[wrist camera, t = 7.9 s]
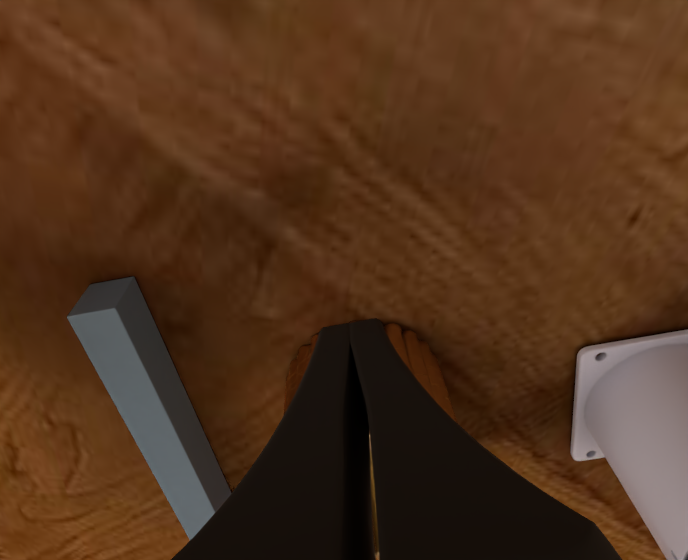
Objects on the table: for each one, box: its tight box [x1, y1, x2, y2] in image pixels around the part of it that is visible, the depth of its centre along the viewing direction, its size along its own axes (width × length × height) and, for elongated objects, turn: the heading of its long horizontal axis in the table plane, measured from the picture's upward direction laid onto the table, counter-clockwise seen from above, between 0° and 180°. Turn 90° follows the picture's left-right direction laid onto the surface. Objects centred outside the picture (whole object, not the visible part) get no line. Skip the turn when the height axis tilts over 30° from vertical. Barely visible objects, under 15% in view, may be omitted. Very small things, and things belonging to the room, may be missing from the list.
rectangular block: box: [67, 277, 231, 540], centre depth 25 cm, size 2×16×2 cm, turn 10°
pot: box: [284, 321, 458, 560], centre depth 23 cm, size 10×11×10 cm
